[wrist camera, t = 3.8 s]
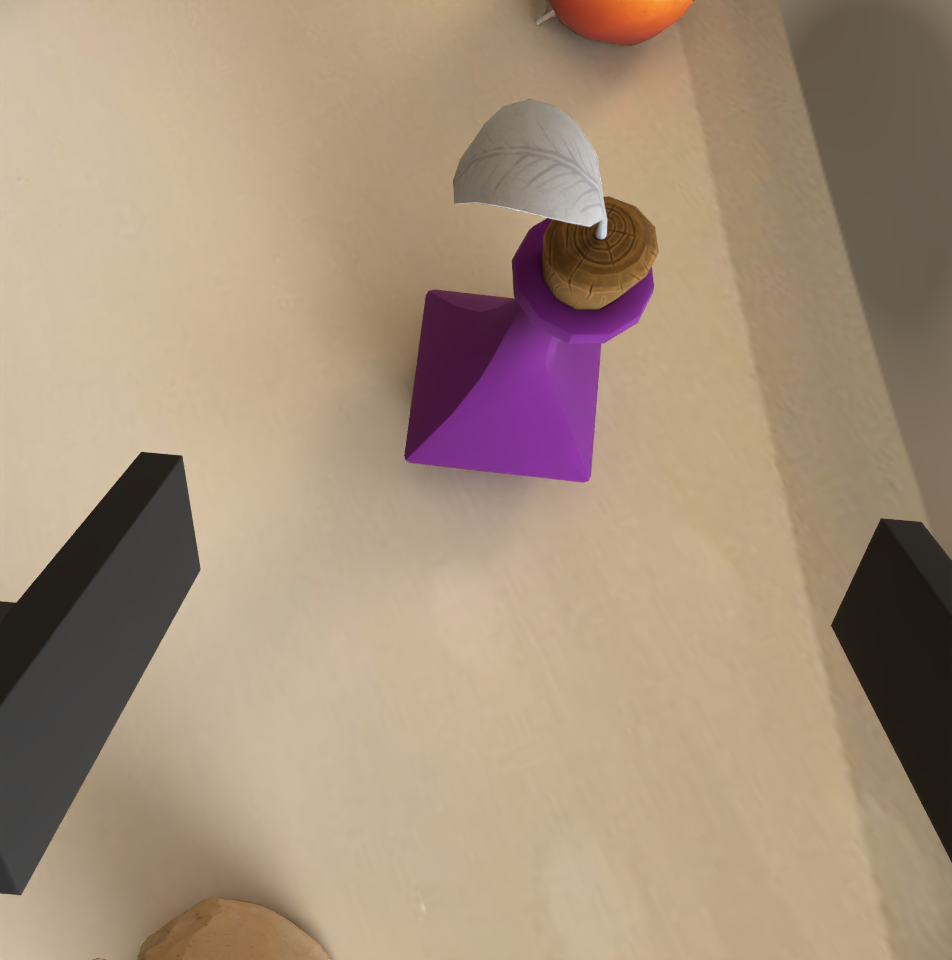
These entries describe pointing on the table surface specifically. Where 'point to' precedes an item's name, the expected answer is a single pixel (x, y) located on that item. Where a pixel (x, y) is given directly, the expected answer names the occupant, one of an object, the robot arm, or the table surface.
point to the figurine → (230, 935)
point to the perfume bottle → (531, 308)
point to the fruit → (616, 18)
